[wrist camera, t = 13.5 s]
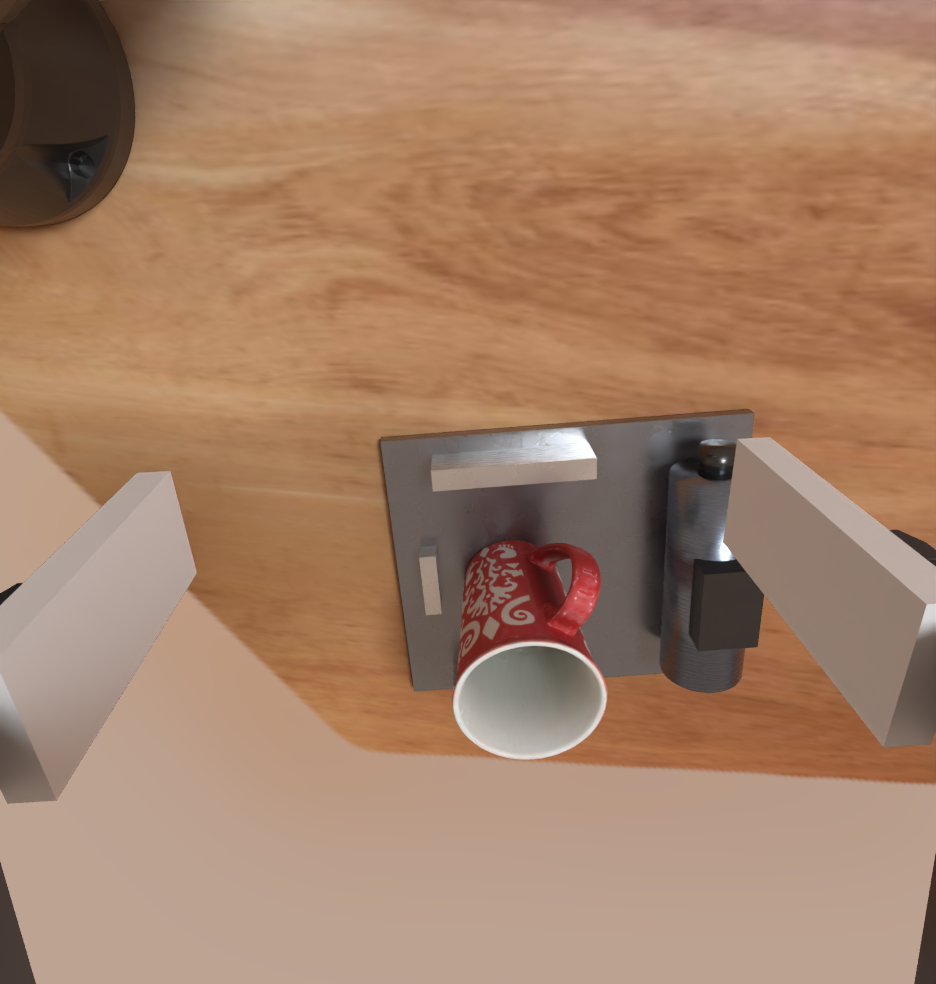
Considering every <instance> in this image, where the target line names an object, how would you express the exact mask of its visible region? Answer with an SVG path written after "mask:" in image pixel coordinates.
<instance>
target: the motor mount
mask: <svg viewBox="0 0 936 984" xmlns="http://www.w3.org/2000/svg"><path fill="white" fill-rule="evenodd" d="M753 422H754V412H752V411H751V410H749V409H742V410H729V411H716V412H703V413H690V414H677V415H664V416H651V417H638V418H625V419H612V420H599V421H586V422H573V423H560V424H547V425H534V426H521V427H508V428H495V429H482V430H469V431H456V432H444V433H431V434H418V435H405V436H392V437H382V438H381V441H380V443H381V451H382V458H383V465H384V473H385V480H386V487H387V495H388V502H389V510H390V517H391V524H392V532H393V539H394V547H395V554H396V561H397V569H398V576H399V583H400V591H401V598H402V606H403V613H404V620H405V628H406V635H407V643H408V650H409V657H410V665H411V672H412V680H413V687H414V691H427V690H441V689H454V687H455V684H456V682H457V671H458V669H457V665H458V657H459V645H460V631H461V616H462V605H463V591H464V579H465V573H466V570H467V567H468V565H469V563H470V562H471V560H472V559H473V558H474V557H475V556H476V555H477V554H478V553H479V552H480V551H481V550H483V549H484V548H486V547H487V546H489V545H491V544H494V543H496V542H500V541H505V540H521V541H526V542H530V543H532V544H535V545H537V546H539V547H540V546H543V545H547V544H551V543H566V544H570V545H573V546H576V547H579V548H581V549H583V550H585V551H587V552H588V553H590V554H591V555H592V556H593V557H594V559H595V560H596V562H597V564H598V567H599V570H600V575H601V588H600V592H599V596H598V599H597V602H596V605H595V607H594V609H593V611H592V613H591V615H590V616H589V618H588V619H587V620H586V621H585V623H584V624H583V625H582V626H580V628H581V631H582V633H583V636H584V638H585V641H586V643H587V646H588V648H589V651H590V653H591V656H592V659H593V661H594V663H595V664H596V666H597V667H598V668H599V670H600V671H601V673H602V675H603V677H604V678H606V677H620V676H634V675H647V674H661V673H664V674H665V676H666V677H667V678H668V679H670V680H671V681H672V682H674V683H675V684H677V685H679V686H681V687H683V688H686V689H689V690H693V691H697V692H705V693H714V692H721V691H725V690H728V689H730V688H732V687H734V686H735V685H736V684H737V683H738V682H739V681H740V679H741V677H742V670H743V661H744V653H745V648H751V647H757V646H758V638H759V631H760V623H761V615H762V607H763V599H764V594H763V593H762V591H761V590H760V589H759V587H758V586H757V585H756V584H755V582H754V581H753V580H752V578H751V577H750V576H749V575H748V573H747V572H746V571H745V570H744V568H743V567H742V566H741V564H740V563H739V562H738V561H737V559H736V558H735V557H734V555H733V554H732V553H731V552H730V550H729V549H728V548H727V546H726V545H725V544H724V543H723V539H724V532H725V524H726V517H727V510H728V503H729V495H730V488H731V481H732V474H733V466H734V459H735V452H736V445H737V439H747V438H752V431H753ZM555 565H556V567H557V569H558V572H559V574H560V577H561V579H562V582H563V585H564V588H565V590H566V592H567V593H568V591H569V588H570V585H571V579H572V563H571V560H570V559H564V560H560V561H558V562H556V563H555Z"/></svg>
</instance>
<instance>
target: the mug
mask: <svg viewBox="0 0 936 984" xmlns="http://www.w3.org/2000/svg"><path fill="white" fill-rule="evenodd" d="M564 559H570V560H571V563H572V579H571V585H570V588H569V591H568V593H567V592H566V590H565V588H564V585H563V582H562V579H561V577H560V574H559V572H558V569H557V567H556V565H555V563H556V562H558V561H560V560H564ZM600 588H601V575H600V570H599V567H598V564H597V562H596V560H595V559H594V557H593V556H592V555H591V554H590V553H588V552H587V551H585V550H583V549H581V548H579V547H576V546H573V545H570V544H566V543H551V544H547V545H543V546H540V547H539V546H537V545H535V544H532V543H530V542H526V541H521V540H505V541H500V542H496V543H494V544H491V545H489V546H487V547H486V548H484V549H483V550H481V551H480V552H479V553H478V554H477V555H476V556H475V557H474V558H473V559H472V560H471V562H470V563H469V565H468V567H467V570H466V573H465V579H464V591H463V605H462V616H461V631H460V645H459V657H458V665H457V669H458V671H457V682H456V684H455V687H454V691H453V697H452V707H453V713H454V717H455V719H456V721H457V723H458V726H459V727H460V729H461V730H462V731H463V733H464V734H465V735H466V736H467V737H468V738H469V739H470V740H471V741H472V742H473V743H475V744H476V745H477V746H479V747H480V748H482V749H484V750H486V751H488V752H490V753H493V754H496V755H499V756H502V757H507V758H512V759H525V760H526V759H540V758H546V757H550V756H554V755H557V754H560V753H562V752H565V751H567V750H569V749H571V748H573V747H574V746H576V745H578V744H579V743H581V742H582V741H583V740H585V739H586V738H587V737H588V736H589V735H590V734H591V733H592V732H593V731H594V730H595V728H596V727H597V725H598V724H599V723H600V721H601V719H602V717H603V715H604V712H605V709H606V705H607V686H606V683H605V680H604V677H603V675H602V673H601V671H600V670H599V668H598V667H597V666H596V664H595V663H594V661H593V659H592V656H591V653H590V651H589V648H588V646H587V643H586V641H585V638H584V636H583V633H582V631H581V628H580V626H582V625H583V624H584V623H585V621H586V620H587V619H588V618H589V616H590V615H591V613H592V611H593V609H594V607H595V605H596V602H597V599H598V596H599V592H600Z"/></svg>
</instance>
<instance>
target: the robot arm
mask: <svg viewBox="0 0 936 984" xmlns="http://www.w3.org/2000/svg"><path fill="white" fill-rule="evenodd" d="M134 123H135V103H134V92H133V85H132V80H131V75H130V71H129V67H128V63H127V60H126V57H125V54H124V51H123V48H122V45H121V43H120V41H119V38H118V36H117V34H116V32H115V29H114V27H113V25H112V23H111V22H110V20H109V18H108V16H107V14H106V13H105V11H104V10H103V8H102V6H101V5H100V3H99V2H98V0H0V225H1V226H16V227H17V226H38V225H48V224H54V223H59V222H63V221H66V220H69V219H72V218H74V217H77V216H79V215H80V214H82V213H84V212H86V211H87V210H89V209H91V208H92V207H93V206H95V205H96V204H97V203H98V202H99V201H100V200H102V199H103V198H104V197H105V196H106V194H107V193H108V192H109V191H110V190H111V189H112V187H113V186H114V184H115V183H116V181H117V180H118V178H119V176H120V175H121V173H122V171H123V169H124V166H125V164H126V161H127V159H128V156H129V152H130V149H131V145H132V140H133V133H134ZM723 543H724V544H725V545H726V546H727V548H728V549H729V550H730V552H731V553H732V554H733V555H734V557H735V558H736V559H737V561H738V562H739V563H740V564H741V566H742V567H743V568H744V570H745V571H746V572H747V573H748V575H749V576H750V577H751V578H752V580H753V581H754V582H755V584H756V585H757V586H758V587H759V589H760V590H761V591H762V593H763V594H764V595H765V596H766V598H767V599H768V600H769V602H770V603H771V604H772V605H773V607H774V608H775V609H776V610H777V612H778V613H779V614H780V616H781V617H782V618H783V619H784V621H785V622H786V623H787V625H788V626H789V627H790V628H791V630H792V631H793V632H794V634H795V635H796V636H797V637H798V639H799V640H800V641H801V642H802V644H803V645H804V646H805V648H806V649H807V650H808V651H809V653H810V654H811V655H812V657H813V658H814V659H815V660H816V662H817V663H818V664H819V666H820V667H821V668H822V669H823V671H824V672H825V673H826V674H827V676H828V677H829V678H830V680H831V681H832V682H833V683H834V685H835V686H836V687H837V689H838V690H839V691H840V692H841V694H842V695H843V696H844V697H845V699H846V700H847V701H848V703H849V704H850V705H851V706H852V708H853V709H854V710H855V712H856V713H857V714H858V715H859V717H860V718H861V719H862V721H863V722H864V723H865V724H866V726H867V727H868V728H869V729H870V731H871V732H872V733H873V735H874V736H875V737H876V738H877V740H878V741H879V742H880V744H881V745H882V746H883V747H898V746H913V745H929V744H931V742H932V739H933V736H934V733H935V731H936V550H935V549H934V548H932V547H931V546H930V545H928V544H927V543H926V542H924V541H921V540H919V539H917V538H915V537H912V536H910V535H908V534H906V533H903V532H901V531H899V530H888V529H887V528H886V527H884V526H883V525H882V524H880V523H879V522H878V521H877V520H875V519H874V518H873V517H871V516H870V515H869V514H868V513H866V512H865V511H864V510H862V509H861V508H860V507H859V506H857V505H856V504H855V503H854V502H852V501H851V500H850V499H848V498H847V497H846V496H845V495H843V494H842V493H841V492H839V491H838V490H837V489H836V488H834V487H833V486H832V485H830V484H829V483H828V482H827V481H825V480H824V479H823V478H822V477H820V476H819V475H818V474H816V473H815V472H814V471H813V470H811V469H810V468H809V467H807V466H806V465H805V464H804V463H802V462H801V461H800V460H798V459H797V458H796V457H795V456H793V455H792V454H791V453H789V452H788V451H787V450H786V449H784V448H783V447H782V446H781V445H779V444H778V443H777V442H775V441H774V440H773V439H772V438H770V437H764V438H747V439H737V445H736V452H735V459H734V466H733V474H732V481H731V488H730V495H729V503H728V510H727V517H726V524H725V532H724V539H723ZM196 574H197V572H196V568H195V564H194V560H193V556H192V552H191V549H190V545H189V541H188V537H187V533H186V529H185V525H184V522H183V518H182V514H181V510H180V506H179V502H178V498H177V495H176V491H175V487H174V483H173V479H172V475H171V471H162V472H144V473H136V474H135V475H134V476H133V477H132V478H131V479H130V480H129V481H128V482H127V483H126V484H125V485H124V486H123V487H122V488H121V489H120V490H119V491H118V492H117V493H116V494H115V495H114V496H113V497H111V498H110V499H109V500H108V501H107V502H106V503H105V504H104V505H103V506H102V507H101V508H100V509H99V510H98V511H97V512H96V513H95V514H94V515H93V516H92V517H91V518H90V519H89V520H88V521H87V522H86V523H85V524H84V525H83V526H82V527H81V528H80V529H79V530H77V532H75V534H73V535H72V536H71V537H70V538H69V539H68V540H67V541H66V542H65V543H64V544H63V545H62V546H61V547H60V548H59V549H58V550H57V551H56V552H55V553H54V554H53V555H52V556H51V557H50V558H49V559H48V560H47V561H46V562H44V563H43V564H42V565H41V566H40V567H39V568H38V569H37V570H36V571H35V572H34V573H33V574H32V575H31V576H30V577H29V578H28V579H27V580H26V581H25V582H24V583H18V584H16V585H14V586H12V587H10V588H9V589H7V590H5V591H4V592H2V593H0V789H1V791H2V793H3V795H4V797H5V800H6V801H7V803H8V804H9V803H24V802H39V801H56V800H57V799H58V797H59V796H60V794H61V793H62V791H63V789H64V788H65V786H66V785H67V783H68V781H69V780H70V778H71V776H72V775H73V773H74V771H75V770H76V768H77V767H78V765H79V763H80V762H81V760H82V759H83V757H84V755H85V754H86V752H87V751H88V749H89V747H90V746H91V744H92V742H93V741H94V739H95V737H96V736H97V734H98V733H99V731H100V729H101V728H102V726H103V724H104V723H105V721H106V720H107V718H108V716H109V715H110V713H111V712H112V710H113V708H114V707H115V705H116V703H117V702H118V700H119V699H120V697H121V695H122V694H123V692H124V690H125V689H126V687H127V686H128V684H129V682H130V680H131V679H132V677H133V676H134V674H135V672H136V671H137V669H138V668H139V666H140V665H141V663H142V661H143V659H144V658H145V656H146V655H147V653H148V652H149V650H150V648H151V647H152V645H153V643H154V642H155V640H156V639H157V637H158V635H159V633H160V632H161V630H162V629H163V627H164V625H165V624H166V622H167V621H168V619H169V617H170V616H171V614H172V613H173V611H174V609H175V608H176V606H177V604H178V603H179V601H180V600H181V598H182V596H183V595H184V593H185V591H186V590H187V588H188V587H189V585H190V583H191V582H192V580H193V579H194V577H195V575H196ZM0 984H36V983H35V979H34V976H33V973H32V969H31V966H30V962H29V959H28V955H27V952H26V949H25V945H24V942H23V939H22V935H21V932H20V928H19V925H18V921H17V918H16V915H15V911H14V908H13V904H12V901H11V897H10V894H9V891H8V887H7V884H6V880H5V877H4V873H3V870H2V867H1V863H0ZM915 984H936V855H935V861H934V867H933V873H932V879H931V885H930V891H929V897H928V904H927V910H926V916H925V922H924V928H923V934H922V941H921V947H920V953H919V959H918V965H917V971H916V977H915Z"/></svg>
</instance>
